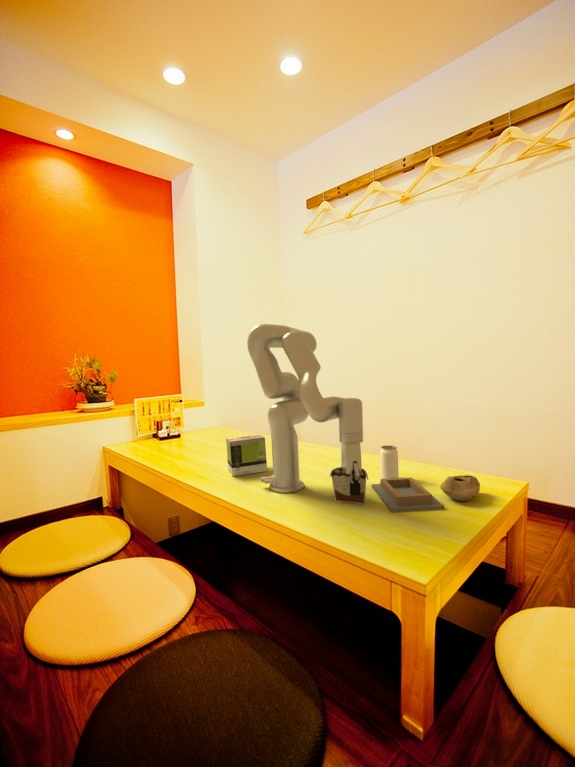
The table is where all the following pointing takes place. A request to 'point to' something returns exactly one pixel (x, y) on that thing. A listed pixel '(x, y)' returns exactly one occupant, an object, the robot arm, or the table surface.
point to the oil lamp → (461, 487)
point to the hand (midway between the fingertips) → (352, 490)
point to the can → (389, 462)
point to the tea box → (246, 454)
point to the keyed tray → (405, 495)
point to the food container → (347, 486)
